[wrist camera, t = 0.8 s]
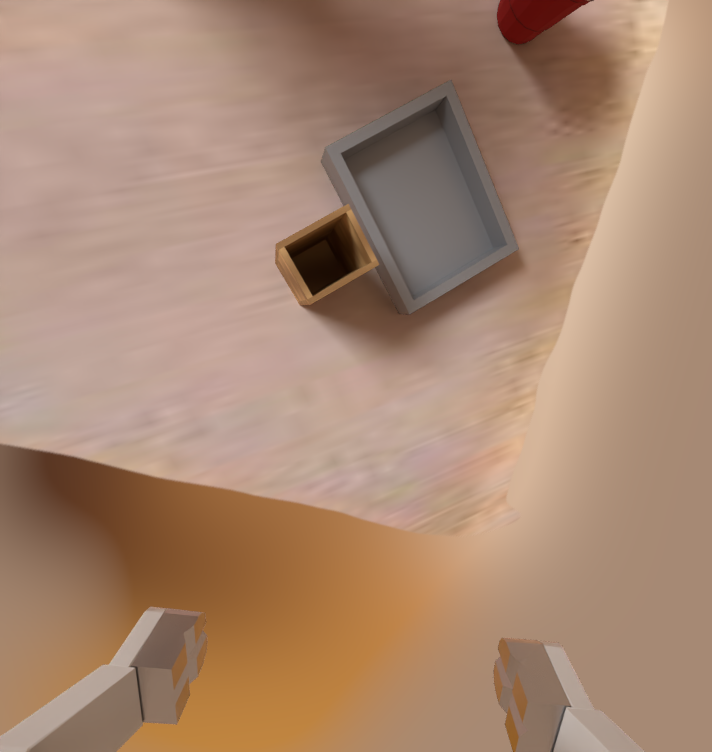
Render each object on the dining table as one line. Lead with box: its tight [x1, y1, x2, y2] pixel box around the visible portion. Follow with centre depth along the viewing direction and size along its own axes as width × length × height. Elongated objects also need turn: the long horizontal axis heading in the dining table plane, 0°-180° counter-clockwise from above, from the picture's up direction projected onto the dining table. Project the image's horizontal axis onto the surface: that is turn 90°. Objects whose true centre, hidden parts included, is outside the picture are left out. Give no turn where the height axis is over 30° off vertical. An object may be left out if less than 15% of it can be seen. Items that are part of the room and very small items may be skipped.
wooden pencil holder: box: [275, 204, 379, 305], centre depth 39 cm, size 6×7×14 cm
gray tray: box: [321, 80, 519, 314], centre depth 45 cm, size 20×16×4 cm
